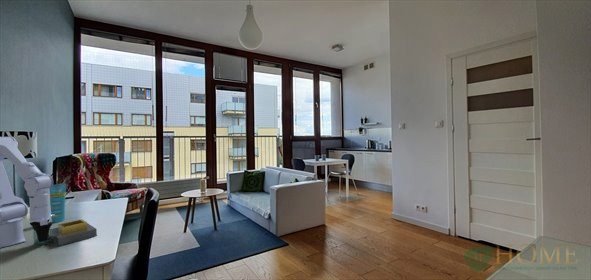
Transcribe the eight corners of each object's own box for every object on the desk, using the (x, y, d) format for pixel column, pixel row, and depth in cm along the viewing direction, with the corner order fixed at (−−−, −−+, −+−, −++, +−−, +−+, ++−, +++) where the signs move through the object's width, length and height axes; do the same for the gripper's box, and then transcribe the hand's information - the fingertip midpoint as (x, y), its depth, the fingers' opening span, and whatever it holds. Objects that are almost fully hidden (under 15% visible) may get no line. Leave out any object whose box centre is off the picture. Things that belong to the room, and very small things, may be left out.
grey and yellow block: (58, 246, 98) (58, 232, 98) (49, 236, 109) (49, 223, 109) (96, 235, 107) (96, 223, 107) (84, 227, 118) (84, 216, 118)
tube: (47, 223, 126) (45, 185, 126) (50, 221, 130) (48, 184, 130) (67, 220, 130) (65, 183, 130) (69, 218, 134) (67, 182, 134)
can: (35, 247, 97) (34, 232, 97) (33, 244, 100) (32, 229, 100) (50, 243, 101) (49, 228, 101) (48, 240, 104) (47, 226, 104)
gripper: (57, 206, 99) (59, 240, 99) (50, 201, 108) (51, 232, 108) (31, 210, 93) (33, 246, 94) (26, 205, 102) (28, 238, 102)
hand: (41, 239), depth 100 cm, fingers closed on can, 4 cm apart
